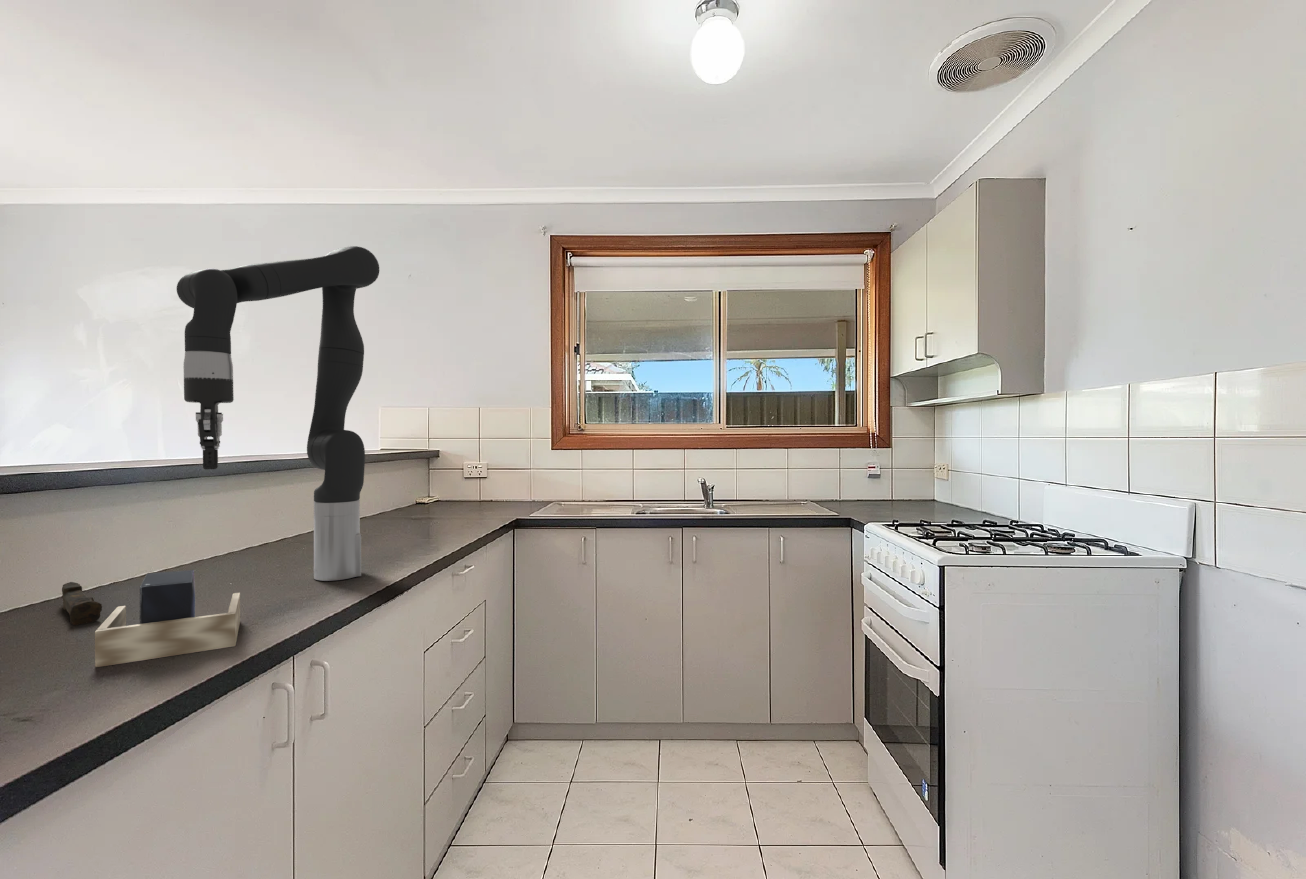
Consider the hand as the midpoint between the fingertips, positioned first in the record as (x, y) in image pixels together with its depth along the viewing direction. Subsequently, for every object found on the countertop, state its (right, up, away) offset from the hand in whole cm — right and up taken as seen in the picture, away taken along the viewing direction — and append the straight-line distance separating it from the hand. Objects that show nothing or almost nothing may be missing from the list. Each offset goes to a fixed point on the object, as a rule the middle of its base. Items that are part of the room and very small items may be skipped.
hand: (210, 468), depth 114 cm
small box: (+9, -26, -21) cm, 35 cm away
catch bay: (+9, -26, -20) cm, 34 cm away
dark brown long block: (-21, -26, -6) cm, 34 cm away
